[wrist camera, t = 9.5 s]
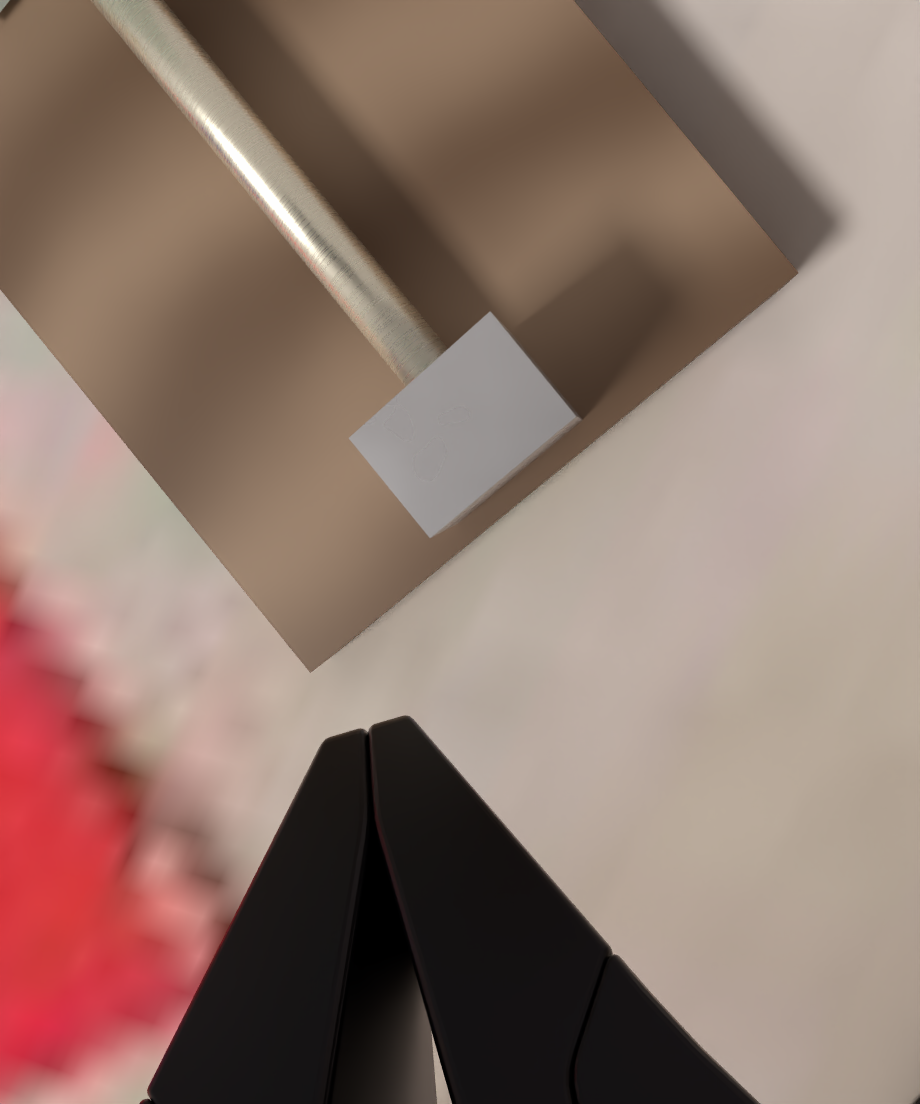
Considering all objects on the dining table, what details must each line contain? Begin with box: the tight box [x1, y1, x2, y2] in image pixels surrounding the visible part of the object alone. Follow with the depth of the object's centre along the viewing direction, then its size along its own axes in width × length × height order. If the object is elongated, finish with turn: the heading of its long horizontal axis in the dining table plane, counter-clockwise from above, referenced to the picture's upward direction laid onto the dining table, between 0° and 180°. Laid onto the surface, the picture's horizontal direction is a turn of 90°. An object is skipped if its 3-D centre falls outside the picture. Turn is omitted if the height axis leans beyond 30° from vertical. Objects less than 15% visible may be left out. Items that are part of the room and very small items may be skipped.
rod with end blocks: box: [91, 0, 582, 538], centre depth 17 cm, size 24×5×6 cm, turn 40°
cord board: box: [0, 0, 798, 673], centre depth 19 cm, size 25×14×2 cm, turn 40°
